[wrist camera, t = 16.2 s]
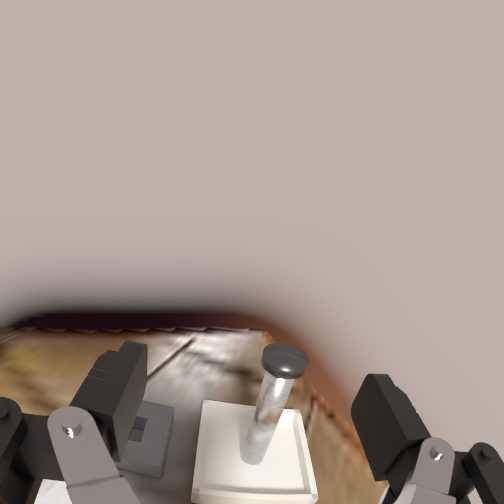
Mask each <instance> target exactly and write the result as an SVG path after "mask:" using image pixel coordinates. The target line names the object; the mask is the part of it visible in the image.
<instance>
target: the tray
mask: <svg viewBox="0 0 504 504" xmlns="http://www.w3.org/2000/svg"><path fill="white" fill-rule="evenodd" d="M254 409H255V406H249V405H240V404H232V403H225V402H218V401H212V400H205V399H204V400H203V406H202V413H201V420H200V428H199V436H198V444H197V452H196V460H195V468H194V476H193V485H192V494H191V503H198V504H315V503H316V501H317V500H318V499H319V498H318V493H317V488H316V483H315V478H314V474H313V469H312V464H311V459H310V454H309V450H308V445H307V440H306V436H305V431H304V426H303V422H302V417H301V412H300V410H293V409H283V412H282V414H281V417H280V419H279V422H278V425H277V427H276V430H275V432H274V435H273V437H272V440H271V442H270V445H269V447H268V449H267V452H266V454H265V457H264V459H263V461H262V462H261V463H260V464H257V465H250V464H247V463H245V462H244V461H243V460H242V459H241V456H240V454H241V451H242V448H243V445H244V441H245V438H246V435H247V432H248V429H249V425H250V422H251V419H252V416H253V412H254Z"/></svg>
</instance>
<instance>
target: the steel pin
mask: <svg viewBox="0 0 504 504" xmlns="http://www.w3.org/2000/svg"><path fill="white" fill-rule="evenodd" d="M308 362H309V359H308V356H307V355H306V353H305V352H304V351H302V350H301V349H300V348H298V347H296V346H293V345H290V344H287V343H272V344H269V345H267V346H266V347H265V348H264V351H263V354H262V358H261V364H262V367H263V368H264V369H265V370H266V372H265V375H264V379H263V382H262V386H261V389H260V392H259V396H258V399H257V403H256V406H255V409H254V412H253V416H252V419H251V422H250V425H249V429H248V432H247V435H246V438H245V441H244V445H243V448H242V451H241V454H240V456H241V459H242V460H243V461H244V462H245V463H247V464H250V465H257V464H260V463H261V462H262V461H263V459H264V457H265V454H266V452H267V449H268V447H269V445H270V442H271V440H272V437H273V435H274V432H275V430H276V427H277V425H278V422H279V419H280V417H281V414H282V412H283V409H284V406H285V404H286V401H287V398H288V396H289V393H290V390H291V387H292V385H293V382H294V379H296V378H299V377H301V376H302V375H303V374H304V373H305V371H306V368H307V365H308Z"/></svg>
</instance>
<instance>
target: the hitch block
mask: <svg viewBox="0 0 504 504" xmlns="http://www.w3.org/2000/svg"><path fill="white" fill-rule="evenodd" d="M173 418H174V408H172V407H167V406H163V405H158V404H153V403H149V402H145V401H141V404H140V407H139V410H138V412H137V415H136V418H135V421H134V424H133V428H136V429H141V430H144V432H143V436H142V439H141V442H136V441H132V440H128V441H127V444H126V447H125V450H124V453H123V456H122V459H121V463H119V462H115V461H113V462H114V464H115V466H116V467H118V468H121V469H125V470H128V471H132V472H136V473H140V474H144V475H149V476H153V477H158V478H161V476H162V471H163V467H164V462H165V457H166V452H167V447H168V443H169V438H170V434H171V429H172V425H173Z"/></svg>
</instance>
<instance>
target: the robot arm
mask: <svg viewBox="0 0 504 504" xmlns="http://www.w3.org/2000/svg"><path fill="white" fill-rule="evenodd" d="M146 383H147V344H143V343H139V342H134V341H130V340H125V341H124V343H123V345H122V347H121V348H120V350H119V352H116V351H112V350H109V351H107V352H105V353H104V354H102V355H101V356H99V357H98V359H97V360H96V362H95V364H94V365H93V368H91V370H90V372H89V373H88V376H87V377H86V378H85V380H84V381H83V383H82V385H81V386H80V388H79V390H78V391H77V393H76V395H75V396H74V398H73V400H72V402H71V403H70V405H69V406H67V407H61V408H59V409H57V410H55V411H54V412H52V414H51V415H50V416H41V415H33V414H25V413H22V411H21V409H20V407H19V405H18V404H17V403H16V402H15V401H13V400H11V399H9V398H5V397H0V504H34V502H35V499H36V496H37V493H38V491H39V488H40V485H41V483H42V480H43V479H49V480H58V481H65V482H66V485H67V487H66V488H67V491H68V494H69V497H70V499H71V501H72V504H141V503H140V502H139V500H138V498H137V497H136V495H135V493H134V492H133V490H132V488H131V486H130V485H129V483H128V481H127V480H126V478H125V477H124V476H123V475H120V473H119V471H118V470H117V468H116V466H115V464H114V462H113V461H115V462H119V463H121V459H122V456H123V453H124V450H125V447H126V444H127V441H128V438H129V436H130V433H131V430H132V427H133V424H134V421H135V418H136V415H137V412H138V410H139V407H140V404H141V401H142V398H143V396H144V393H145V388H146ZM351 416H352V420H353V422H354V425H355V428H356V430H357V433H358V436H359V438H360V441H361V444H362V446H363V449H364V452H365V454H366V457H367V460H368V462H369V465H370V468H371V471H372V473H373V476H374V479H375V482H376V481H383V480H388V482H389V484H388V485H387V486H386V488H385V489H384V492H383V494H382V496H381V498H380V501H379V503H378V504H471V503H470V500H469V498H468V496H467V495H468V494H470V492H471V491H473V490H474V489H475V488H476V490H477V492H478V494H479V496H480V498H481V500H482V502H483V504H504V463H503V461H502V460H501V458H500V456H499V454H498V453H497V451H496V450H495V449H494V448H493V447H492V446H491V445H489V444H486V443H482V442H479V443H476V444H475V445H474V446H473V447H472V448H471V449H470V450H469V452H458V451H454V450H453V449H452V447H451V445H450V444H449V443H447V442H446V441H444V440H442V439H440V438H434V437H431V435H430V434H429V432H428V430H427V428H426V427H425V425H424V423H423V422H422V420H421V418H420V417H419V415H418V413H416V410H415V408H414V406H412V403H411V402H410V400H409V398H408V397H407V395H406V394H405V393H404V392H403V391H402V390H400V389H399V388H398V387H396V386H395V385H394V383H393V381H392V380H391V378H390V377H389V375H387V374H368V375H367V376H366V377H365V379H364V381H363V384H362V385H361V387H360V389H359V391H358V394H357V396H356V397H355V399H354V401H353V404H352V408H351Z"/></svg>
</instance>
